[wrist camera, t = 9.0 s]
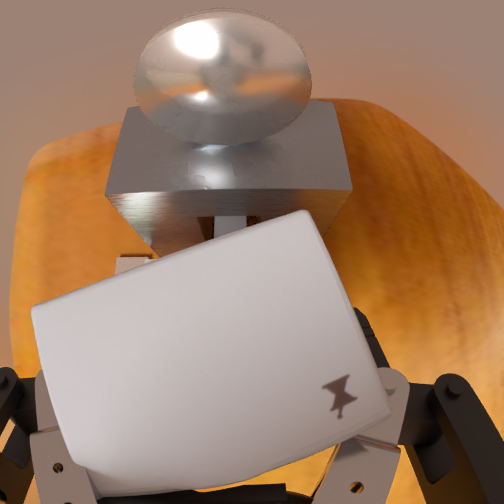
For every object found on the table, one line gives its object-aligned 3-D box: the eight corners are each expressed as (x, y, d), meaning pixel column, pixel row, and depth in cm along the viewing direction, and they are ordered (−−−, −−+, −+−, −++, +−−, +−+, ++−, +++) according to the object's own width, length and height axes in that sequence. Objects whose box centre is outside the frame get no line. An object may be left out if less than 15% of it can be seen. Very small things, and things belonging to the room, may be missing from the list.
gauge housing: (304, 190, 21) (363, -2, 7) (315, 408, 17) (467, 523, 3) (127, 194, 21) (27, 35, 7) (113, 402, 17) (-75, 448, 2)
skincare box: (270, 301, 17) (318, 198, 5) (297, 372, 15) (405, 419, 4) (168, 336, 16) (22, 301, 5) (193, 407, 15) (88, 506, 3)
